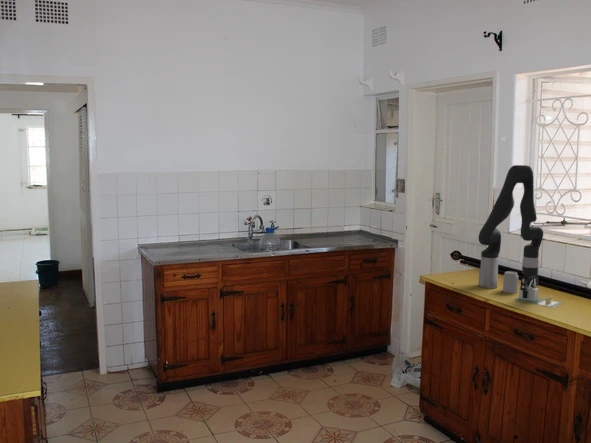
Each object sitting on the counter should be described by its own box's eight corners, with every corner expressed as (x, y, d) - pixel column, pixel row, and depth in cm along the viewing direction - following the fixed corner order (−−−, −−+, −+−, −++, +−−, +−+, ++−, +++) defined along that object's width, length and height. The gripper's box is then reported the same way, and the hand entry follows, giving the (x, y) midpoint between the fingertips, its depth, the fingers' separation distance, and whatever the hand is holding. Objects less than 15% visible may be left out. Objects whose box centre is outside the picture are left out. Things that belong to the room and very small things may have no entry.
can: (510, 296, 294) (511, 274, 293) (499, 293, 301) (500, 271, 299) (520, 294, 298) (521, 272, 296) (509, 291, 304) (510, 270, 303)
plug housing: (518, 298, 285) (519, 287, 284) (522, 296, 288) (523, 285, 287) (534, 301, 279) (535, 290, 278) (538, 300, 282) (539, 288, 281)
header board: (513, 302, 284) (513, 293, 283) (524, 297, 292) (524, 289, 291) (552, 310, 269) (553, 301, 268) (563, 305, 277) (564, 297, 276)
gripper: (529, 262, 289) (528, 292, 291) (516, 266, 279) (515, 297, 282) (544, 264, 283) (542, 295, 285) (531, 268, 274) (529, 300, 276)
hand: (528, 296), depth 283 cm, fingers open, 8 cm apart
